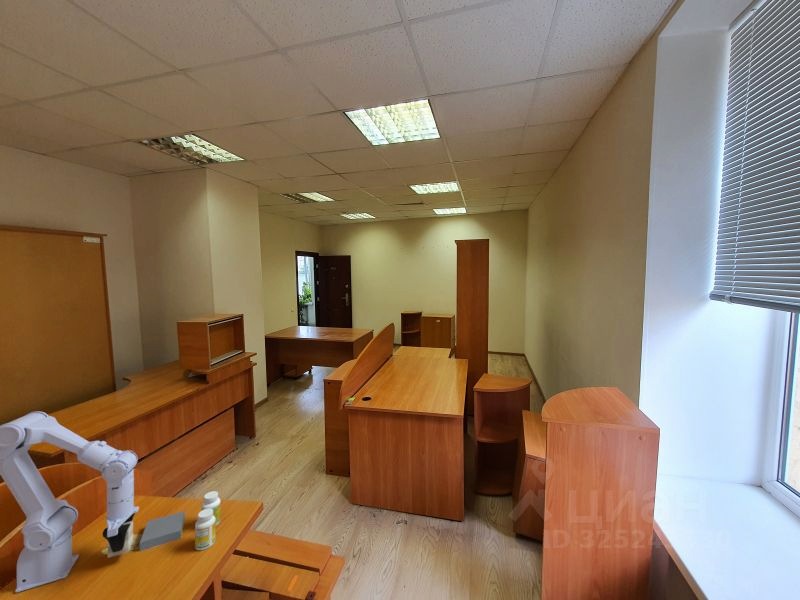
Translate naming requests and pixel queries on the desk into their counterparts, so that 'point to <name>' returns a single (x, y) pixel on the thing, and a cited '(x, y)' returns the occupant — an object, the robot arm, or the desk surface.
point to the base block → (162, 530)
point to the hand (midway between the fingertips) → (120, 544)
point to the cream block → (126, 545)
